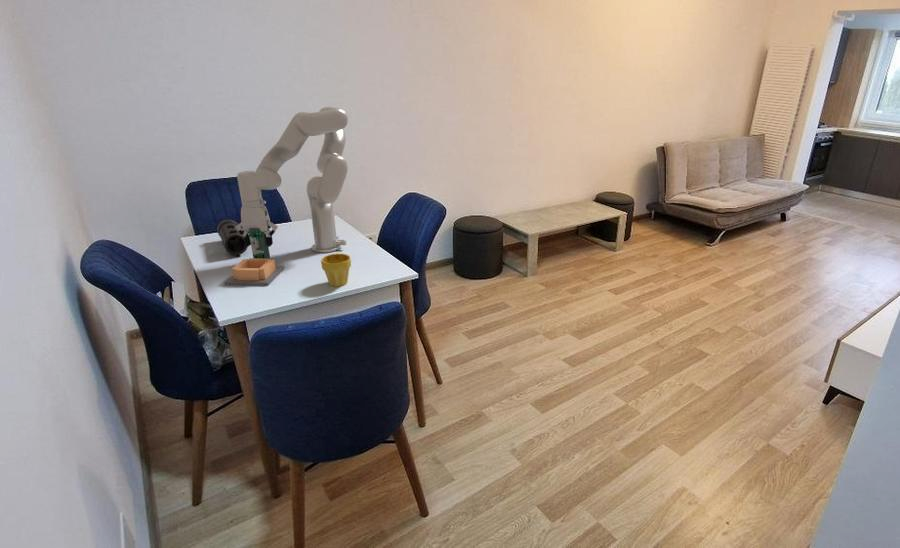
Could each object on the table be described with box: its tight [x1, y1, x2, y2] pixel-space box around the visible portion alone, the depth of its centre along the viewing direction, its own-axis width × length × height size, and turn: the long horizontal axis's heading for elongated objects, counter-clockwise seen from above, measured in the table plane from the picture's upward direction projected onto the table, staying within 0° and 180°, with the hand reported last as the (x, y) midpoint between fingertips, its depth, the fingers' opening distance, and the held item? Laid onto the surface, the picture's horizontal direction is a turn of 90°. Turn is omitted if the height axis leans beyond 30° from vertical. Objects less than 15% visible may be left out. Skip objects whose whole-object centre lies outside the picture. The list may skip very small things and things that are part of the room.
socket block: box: [223, 257, 285, 287], centre depth 173 cm, size 16×16×5 cm
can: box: [249, 228, 272, 260], centre depth 186 cm, size 6×6×15 cm
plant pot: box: [320, 253, 352, 287], centre depth 167 cm, size 10×10×10 cm
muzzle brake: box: [216, 219, 248, 257], centre depth 203 cm, size 10×28×10 cm, turn 31°
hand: (259, 245), depth 186 cm, fingers open, 8 cm apart
